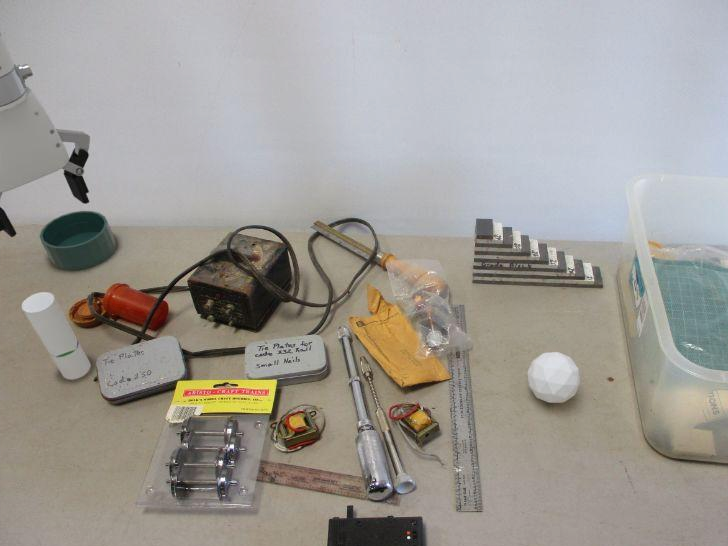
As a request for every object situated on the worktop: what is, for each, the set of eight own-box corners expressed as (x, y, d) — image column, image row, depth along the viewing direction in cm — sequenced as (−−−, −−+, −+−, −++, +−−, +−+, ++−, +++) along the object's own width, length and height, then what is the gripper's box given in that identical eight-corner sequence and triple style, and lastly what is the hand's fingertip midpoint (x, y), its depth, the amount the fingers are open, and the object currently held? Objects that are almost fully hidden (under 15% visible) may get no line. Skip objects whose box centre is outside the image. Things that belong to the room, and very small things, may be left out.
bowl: (39, 269, 113) (27, 246, 109) (68, 231, 122) (57, 209, 118) (101, 271, 113) (91, 249, 109) (125, 233, 122) (116, 211, 118)
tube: (56, 376, 94) (14, 309, 84) (73, 357, 97) (35, 290, 87) (80, 381, 93) (41, 314, 83) (96, 361, 96) (60, 294, 86)
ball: (538, 410, 93) (515, 392, 88) (544, 364, 97) (523, 344, 91) (585, 412, 89) (564, 393, 83) (589, 362, 92) (570, 341, 87)
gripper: (45, 57, 72) (94, 178, 84) (-116, 104, 62) (-35, 234, 74) (76, 73, 68) (122, 198, 80) (-90, 126, 59) (-9, 259, 71)
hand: (46, 215), depth 77 cm, fingers open, 9 cm apart
